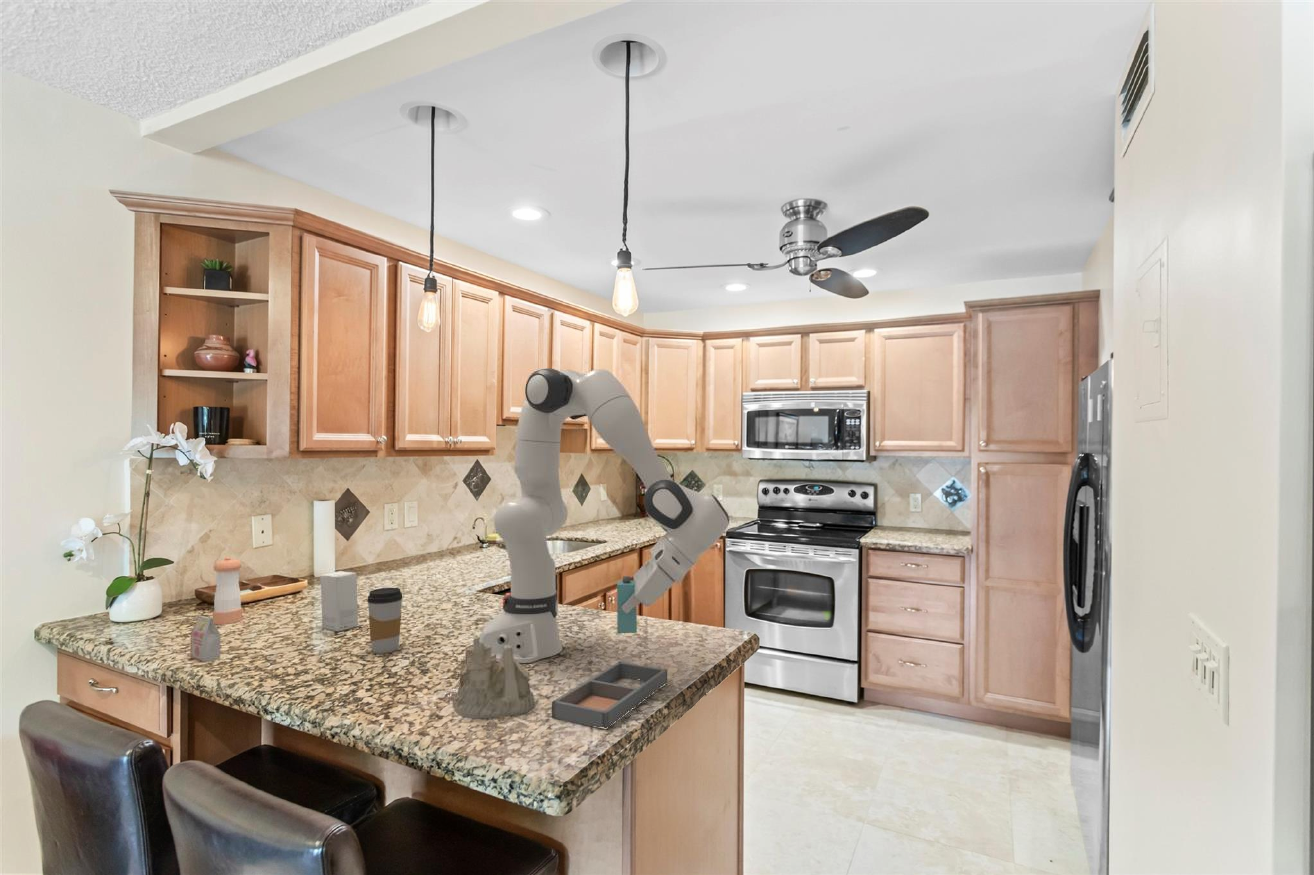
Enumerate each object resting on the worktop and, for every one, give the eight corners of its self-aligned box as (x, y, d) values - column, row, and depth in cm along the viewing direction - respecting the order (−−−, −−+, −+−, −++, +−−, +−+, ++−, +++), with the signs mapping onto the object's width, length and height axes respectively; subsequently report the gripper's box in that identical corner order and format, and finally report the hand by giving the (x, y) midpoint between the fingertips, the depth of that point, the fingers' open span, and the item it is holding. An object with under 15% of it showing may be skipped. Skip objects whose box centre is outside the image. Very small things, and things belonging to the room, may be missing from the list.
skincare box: (358, 627, 183) (358, 572, 184) (336, 632, 178) (336, 576, 178) (341, 622, 188) (341, 570, 188) (319, 628, 182) (319, 573, 183)
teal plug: (617, 633, 132) (617, 579, 132) (617, 627, 136) (617, 575, 136) (636, 632, 132) (636, 578, 132) (636, 627, 136) (635, 574, 136)
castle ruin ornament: (532, 715, 121) (529, 634, 122) (444, 723, 119) (441, 641, 120) (539, 690, 136) (537, 618, 138) (461, 696, 135) (459, 624, 136)
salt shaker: (231, 624, 187) (231, 559, 187) (206, 624, 187) (207, 559, 188) (247, 617, 194) (247, 555, 195) (224, 618, 195) (224, 555, 195)
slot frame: (606, 729, 115) (606, 713, 115) (551, 717, 120) (551, 701, 120) (667, 683, 137) (667, 669, 137) (619, 675, 142) (618, 661, 142)
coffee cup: (408, 649, 162) (408, 590, 162) (375, 657, 156) (375, 596, 156) (394, 642, 168) (393, 585, 168) (361, 650, 162) (361, 591, 162)
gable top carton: (207, 653, 161) (207, 613, 161) (220, 657, 157) (220, 617, 157) (190, 657, 157) (190, 616, 158) (203, 662, 154) (203, 620, 154)
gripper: (656, 541, 145) (613, 585, 144) (661, 557, 125) (612, 608, 124) (676, 561, 145) (633, 605, 144) (684, 579, 125) (635, 631, 124)
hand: (623, 607), depth 134 cm, fingers closed on teal plug, 4 cm apart
